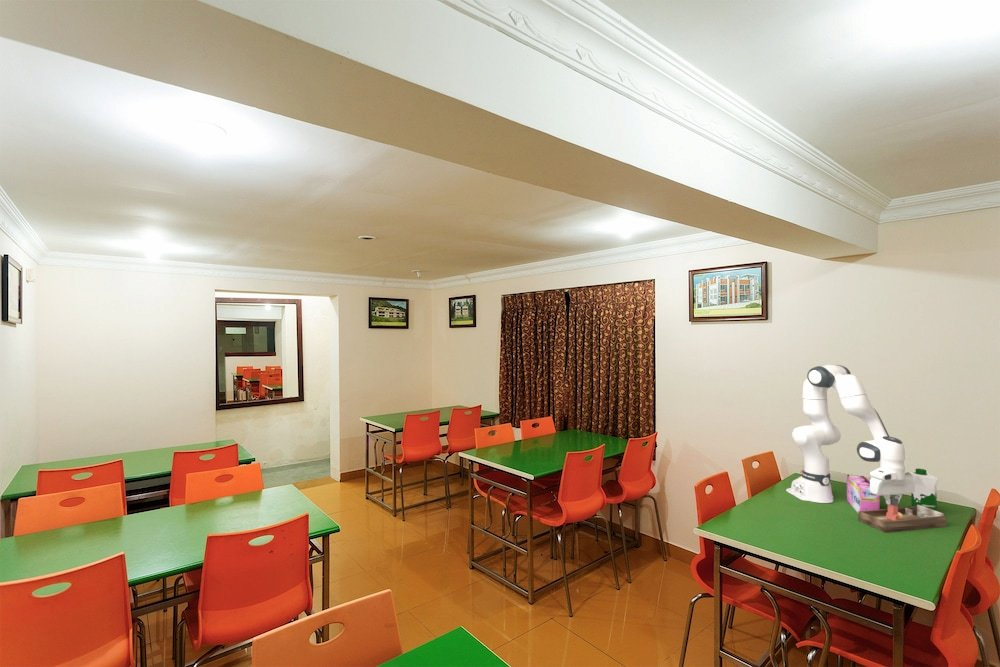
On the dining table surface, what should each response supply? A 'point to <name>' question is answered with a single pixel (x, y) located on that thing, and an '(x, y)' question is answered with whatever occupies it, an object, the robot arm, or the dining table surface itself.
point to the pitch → (911, 519)
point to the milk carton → (924, 490)
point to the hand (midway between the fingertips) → (892, 503)
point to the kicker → (893, 510)
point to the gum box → (861, 494)
